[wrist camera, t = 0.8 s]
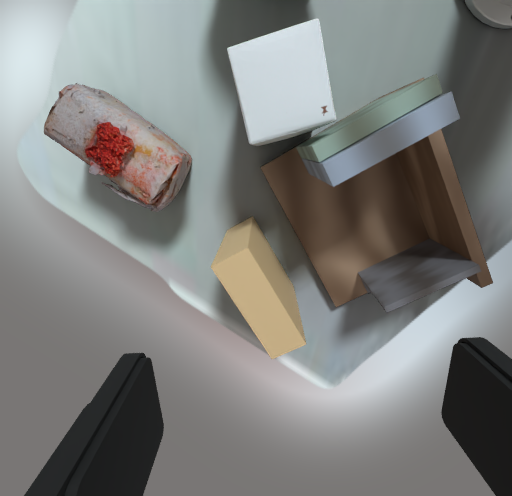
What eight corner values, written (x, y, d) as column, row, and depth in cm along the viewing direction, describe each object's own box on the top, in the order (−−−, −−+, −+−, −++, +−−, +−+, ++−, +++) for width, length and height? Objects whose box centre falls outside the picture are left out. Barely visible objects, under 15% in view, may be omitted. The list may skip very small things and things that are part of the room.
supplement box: (301, 63, 32) (323, 13, 20) (313, 131, 35) (339, 122, 23) (238, 82, 33) (224, 44, 21) (254, 147, 36) (249, 147, 24)
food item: (205, 156, 36) (184, 159, 27) (173, 207, 38) (144, 226, 29) (107, 86, 34) (48, 62, 24) (80, 144, 36) (15, 143, 27)
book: (252, 216, 38) (247, 247, 26) (293, 286, 42) (306, 344, 29) (227, 230, 39) (210, 267, 27) (269, 298, 42) (271, 359, 30)
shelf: (380, 96, 33) (462, 60, 20) (440, 252, 39) (535, 307, 26) (260, 167, 36) (258, 177, 22) (333, 301, 42) (367, 375, 28)
